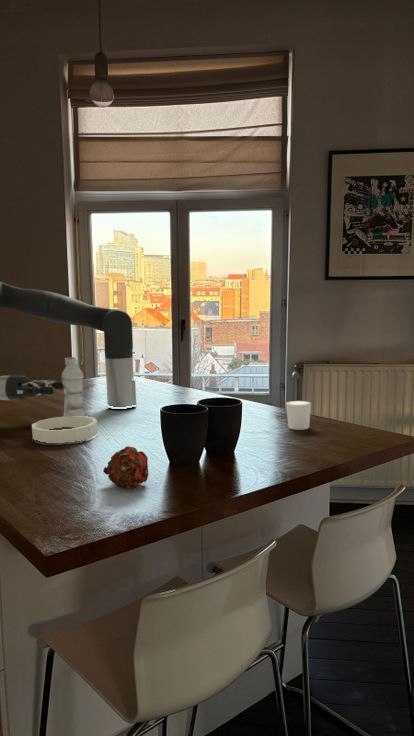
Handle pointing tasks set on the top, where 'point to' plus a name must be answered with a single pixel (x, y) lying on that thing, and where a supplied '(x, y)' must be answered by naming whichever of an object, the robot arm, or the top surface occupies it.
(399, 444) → the top surface
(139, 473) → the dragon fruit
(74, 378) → the plastic bottle
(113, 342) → the robot arm
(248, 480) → the top surface
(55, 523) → the top surface
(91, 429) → the bowl
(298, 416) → the white cup
